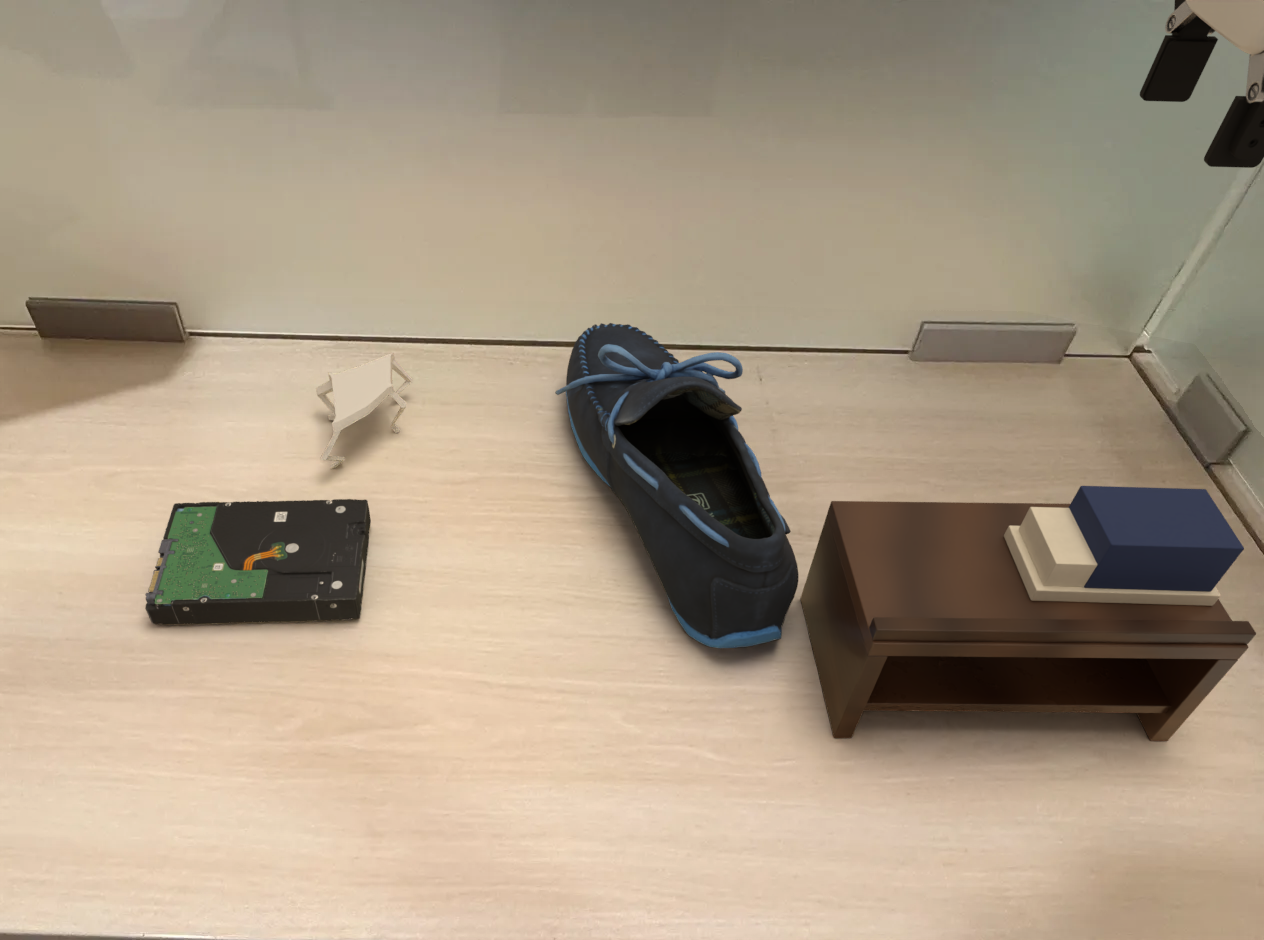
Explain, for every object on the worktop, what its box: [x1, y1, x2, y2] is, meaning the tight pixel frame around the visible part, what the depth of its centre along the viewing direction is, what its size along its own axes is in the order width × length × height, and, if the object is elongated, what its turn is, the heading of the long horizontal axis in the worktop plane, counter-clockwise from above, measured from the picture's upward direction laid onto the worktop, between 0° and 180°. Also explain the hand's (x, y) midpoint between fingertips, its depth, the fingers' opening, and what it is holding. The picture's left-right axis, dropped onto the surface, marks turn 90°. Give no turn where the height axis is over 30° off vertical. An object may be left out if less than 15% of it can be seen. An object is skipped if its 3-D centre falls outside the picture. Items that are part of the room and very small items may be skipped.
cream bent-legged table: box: [315, 352, 414, 470], centre depth 82 cm, size 12×8×5 cm
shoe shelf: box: [800, 500, 1257, 742], centre depth 64 cm, size 22×12×11 cm, turn 90°
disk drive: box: [145, 498, 372, 626], centre depth 72 cm, size 10×3×15 cm
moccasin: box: [555, 322, 799, 649], centre depth 75 cm, size 14×34×12 cm, turn 21°
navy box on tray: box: [1004, 485, 1245, 606], centre depth 59 cm, size 11×6×5 cm, turn 89°
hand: (1194, 130), depth 63 cm, fingers open, 9 cm apart
